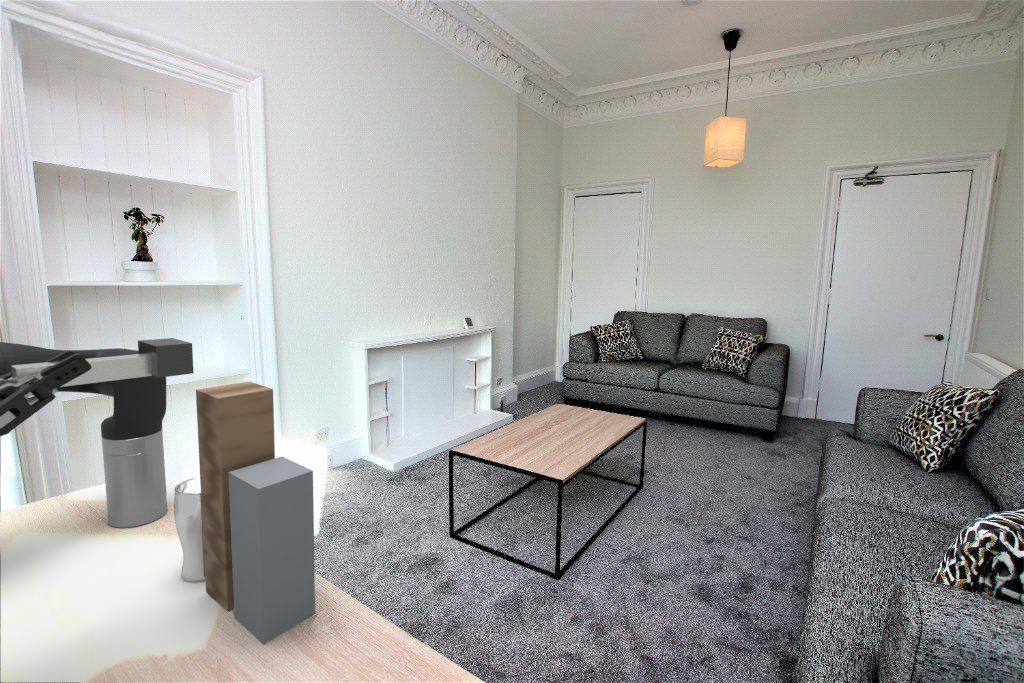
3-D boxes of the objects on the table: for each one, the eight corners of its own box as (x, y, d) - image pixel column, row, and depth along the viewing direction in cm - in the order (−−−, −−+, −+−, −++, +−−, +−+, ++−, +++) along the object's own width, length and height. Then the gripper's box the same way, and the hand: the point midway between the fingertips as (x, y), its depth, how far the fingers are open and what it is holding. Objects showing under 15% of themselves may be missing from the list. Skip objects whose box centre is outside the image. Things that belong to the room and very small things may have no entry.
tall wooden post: (205, 592, 74) (195, 389, 70) (255, 568, 80) (249, 381, 76) (227, 611, 70) (218, 398, 66) (278, 585, 76) (273, 389, 72)
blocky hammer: (9, 385, 53) (6, 349, 53) (174, 366, 66) (172, 338, 66) (22, 394, 50) (18, 357, 50) (193, 373, 63) (192, 343, 63)
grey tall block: (234, 618, 69) (228, 472, 66) (285, 590, 75) (281, 456, 72) (263, 644, 64) (258, 489, 61) (315, 613, 71) (312, 470, 67)
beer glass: (168, 575, 78) (163, 487, 76) (212, 553, 84) (208, 472, 82) (193, 589, 74) (188, 498, 72) (237, 566, 81) (233, 481, 78)
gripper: (-92, 474, 51) (85, 374, 62) (-76, 516, 43) (124, 393, 54) (-162, 422, 47) (41, 325, 58) (-158, 459, 39) (76, 338, 50)
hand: (80, 358), depth 56 cm, fingers closed on blocky hammer, 2 cm apart
